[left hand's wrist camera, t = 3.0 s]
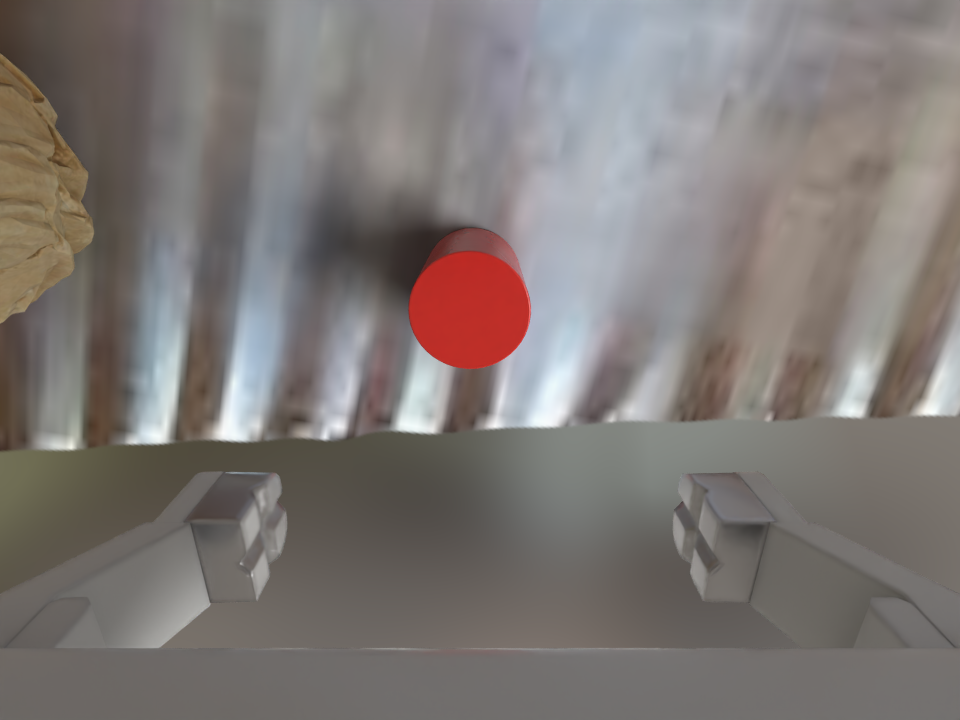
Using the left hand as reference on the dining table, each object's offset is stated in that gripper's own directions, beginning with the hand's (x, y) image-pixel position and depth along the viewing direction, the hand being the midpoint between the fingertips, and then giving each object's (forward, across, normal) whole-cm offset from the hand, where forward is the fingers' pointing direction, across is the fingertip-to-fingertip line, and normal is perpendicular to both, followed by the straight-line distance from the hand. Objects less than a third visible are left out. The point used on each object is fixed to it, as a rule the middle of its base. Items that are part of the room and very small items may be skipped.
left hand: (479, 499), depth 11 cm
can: (+20, 0, 0) cm, 20 cm away
